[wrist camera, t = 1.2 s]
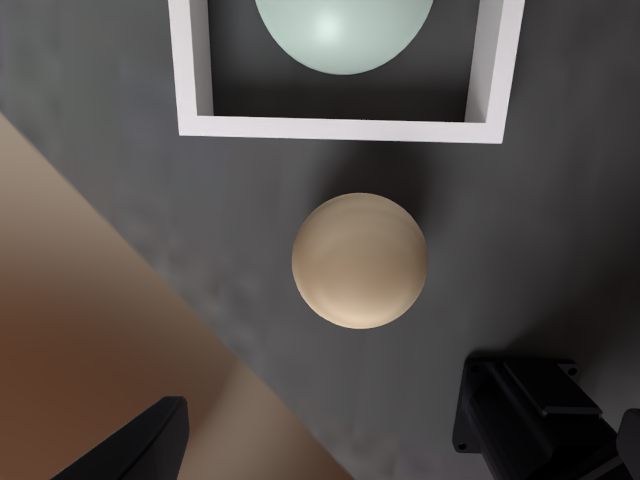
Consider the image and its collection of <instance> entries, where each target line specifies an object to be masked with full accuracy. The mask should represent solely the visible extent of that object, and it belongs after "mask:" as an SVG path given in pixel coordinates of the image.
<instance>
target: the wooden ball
mask: <svg viewBox="0 0 640 480" xmlns="http://www.w3.org/2000/svg"><path fill="white" fill-rule="evenodd" d="M292 270H293V275H294V279H295V282H296V284H297V287H298V290H299V291H300V293H301V295H302V297H303V298H304V300H305V301H306V302H307V304H308V305H309V306H310V307H311V308H312V309H313V310H314V311H315V312H316V313H318V314H319V315H320V316H322V317H323V318H325V319H326V320H328V321H330V322H332V323H335V324H337V325H340V326H343V327H348V328H357V329H363V328H373V327H377V326H381V325H384V324H386V323H389V322H391V321H393V320H394V319H396V318H398V317H399V316H401V315H402V314H403V313H404V312H405V311H407V310H408V309H409V308H410V306H411V305H412V304H413V303H414V302H415V300H416V299H417V297H418V296H419V294H420V292H421V290H422V288H423V286H424V283H425V280H426V275H427V270H428V252H427V247H426V243H425V239H424V237H423V234H422V232H421V230H420V228H419V227H418V225H417V223H416V222H415V220H414V219H413V218H412V217H411V215H410V214H409V213H408V212H407V211H406V210H404V209H403V208H402V207H400V206H399V205H398V204H396V203H395V202H393V201H391V200H389V199H387V198H384V197H382V196H379V195H374V194H369V193H351V194H345V195H341V196H338V197H335V198H333V199H331V200H328V201H326V202H325V203H323V204H322V205H320V206H319V207H318V208H316V209H315V210H314V211H313V212H312V213H311V214H310V215H309V216H308V217H307V218H306V220H305V221H304V223H303V224H302V226H301V228H300V230H299V231H298V233H297V236H296V239H295V241H294V246H293V251H292Z"/></svg>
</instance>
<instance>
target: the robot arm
mask: <svg viewBox="0 0 640 480" xmlns="http://www.w3.org/2000/svg"><path fill="white" fill-rule="evenodd" d="M475 365H477V367H476V368H474V369H471V368H472V367H473V366H475ZM571 368H572V369H571ZM569 369H571V370H570V371H569ZM580 375H581V367H580V366H579V365H578V364H577V363H576V362H575V361H573V360H556V359H550V358H521V357H508V358H476V357H474V358H470V359H468V360H467V361H466V362H465V364H464V369H463V376H462V382H461V388H460V395H459V401H458V407H457V413H456V420H455V426H454V432H453V439H452V444H453V446H454V449H455V450H456V451H457V452H459V453H482V455H483V457H484V459H485V461H486V464H487V466H488V468H489V470H490V472H491V474H492V476H493V478H494V480H640V409H636V408H631V409H628V410H627V411H626V412H625V413H624V415H623V418H622V421H621V425H620V428H619V431H618V434H617V433H616V432H615V431H614V429H613V428H612V427H611V426H610V425H609V424H608V423H607V422H606V421H605V420H604V419H603V418H602V417H601V416H602V413H603V412H602V410H601V409H600V408H599V407H598V406H597V405H596V404H595V403H594V402H593V401H592V400H591V399H590V398H589V397H588V396H587V394H586V393H585V392H584V391H583V390H582V389H581V388H580V387H579V386H578V382H579V379H580ZM188 438H189V418H188V407H187V401H186V398H185V397H183V396H165V397H163V398H161V399H160V400H158V401H157V402H156V403H154V404H153V405H151V406H150V407H149V408H147V409H146V410H145V411H143V412H142V413H141V414H139V415H138V416H136V417H135V418H134V419H132V420H131V421H129V422H128V423H127V424H125V425H124V426H123V427H121V428H120V429H118V430H117V431H116V432H114V433H113V434H111V435H110V436H109V437H107V438H106V439H105V440H103V441H102V442H101V443H99V444H98V445H96V446H95V447H93V448H92V449H91V450H89V451H88V452H87V453H85V454H84V455H82V456H81V457H80V458H78V459H77V460H75V461H74V462H73V463H71V464H70V465H69V466H67V467H66V468H64V469H63V470H62V471H60V472H59V473H58V474H56V475H55V476H53V477H52V478H51V479H50V480H177V477H178V473H179V470H180V467H181V463H182V460H183V457H184V453H185V450H186V446H187V443H188ZM461 443H463V444H461ZM459 444H460V445H459Z"/></svg>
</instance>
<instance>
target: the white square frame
mask: <svg viewBox="0 0 640 480" xmlns="http://www.w3.org/2000/svg"><path fill="white" fill-rule="evenodd" d="M255 1H256V4H257V7H258V10H259V13H260V15H261V17H262V19H263V21H264V24H265V25H266V27H267V29H268V30H269V32H270V34H271V35H272V37H273V38H274V39H275V41H276V42H277V43H278V44H279V46H280V47H281V48H282V49H283V50H284V51H285V52H286V53H287V54H289V55H290V56H291V57H292V58H294V59H295V60H296V61H298V62H300V63H301V64H303V65H305V66H307V67H309V68H311V69H314V70H316V71H319V72H323V73H327V74H334V75H353V74H358V73H363V72H366V71H369V70H372V69H375V68H377V67H379V66H381V65H383V64H385V63H386V62H388V61H389V60H391V59H392V58H394V57H395V56H396V55H397V54H399V53H400V52H401V51H402V50H403V49H404V48H405V47H406V46H407V45H408V44H409V43H410V42H411V41H412V39H413V38H414V37H415V35H416V34H417V33H418V31H419V30H420V28H421V27H422V25H423V23H424V21H425V19H426V18H427V16H428V13H429V11H430V8H431V6H432V3H433V0H255ZM168 2H169V14H170V27H171V39H172V51H173V63H174V76H175V88H176V100H177V113H178V125H179V135H189V136H228V137H267V138H306V139H345V140H384V141H423V142H462V143H500V144H502V140H503V133H504V127H505V121H506V115H507V109H508V102H509V96H510V90H511V84H512V77H513V71H514V65H515V59H516V53H517V46H518V40H519V34H520V28H521V21H522V15H523V9H524V3H525V0H480V5H479V12H478V20H477V28H476V35H475V43H474V51H473V58H472V66H471V74H470V82H469V89H468V97H467V105H466V112H465V120H464V123H459V122H421V121H382V120H343V119H304V118H266V117H227V116H214V113H213V94H212V76H211V58H210V40H209V22H208V3H207V0H168Z"/></svg>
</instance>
